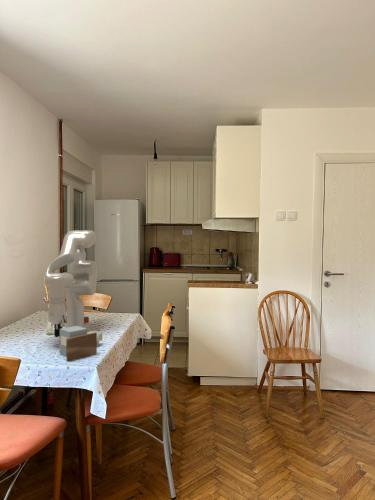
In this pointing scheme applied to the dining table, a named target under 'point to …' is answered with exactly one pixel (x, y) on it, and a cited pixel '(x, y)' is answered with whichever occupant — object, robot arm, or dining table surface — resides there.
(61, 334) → the grey box
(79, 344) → the board
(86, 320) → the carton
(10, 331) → the dining table surface
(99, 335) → the sage mug
